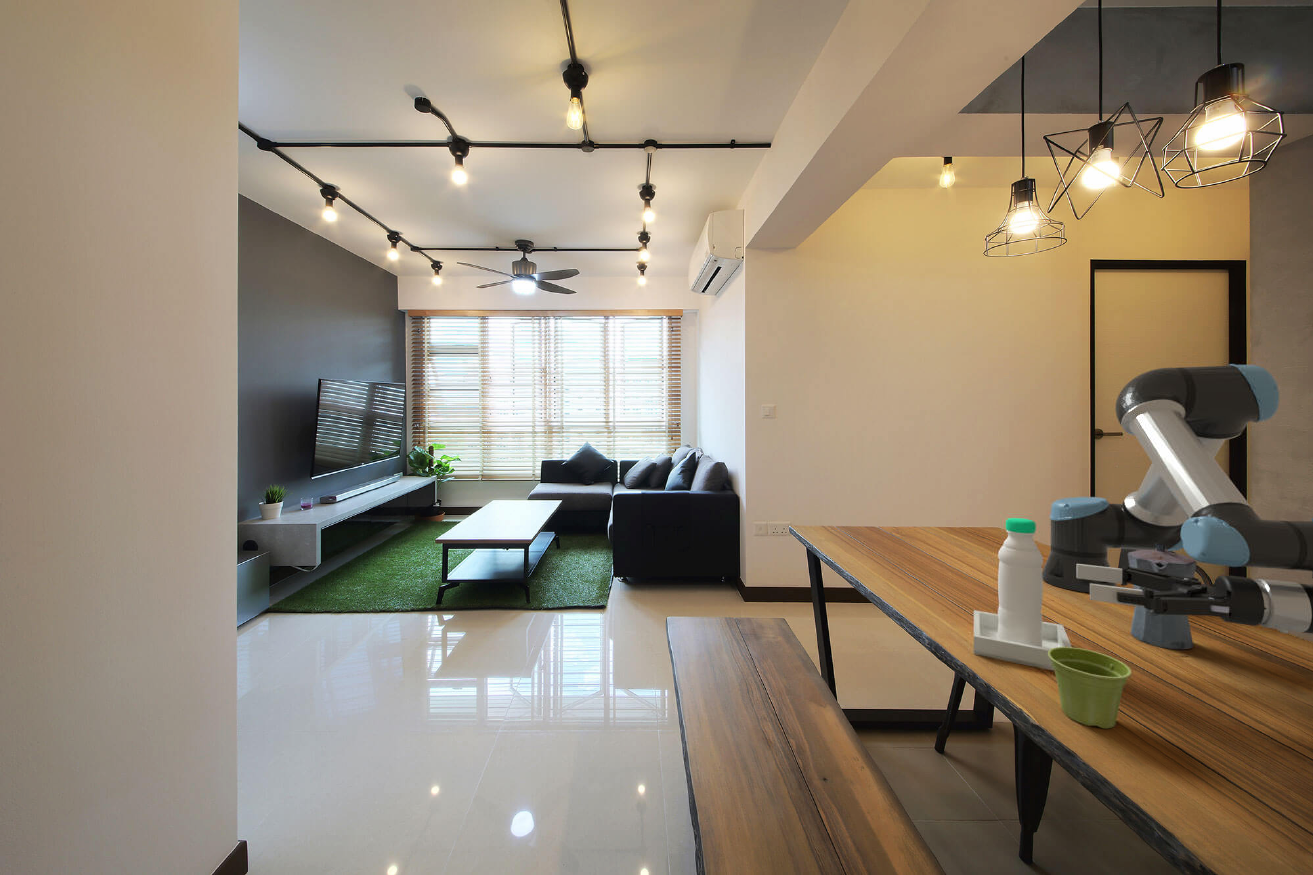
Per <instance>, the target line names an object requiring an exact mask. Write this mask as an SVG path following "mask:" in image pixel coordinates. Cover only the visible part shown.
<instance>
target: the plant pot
mask: <svg viewBox="0 0 1313 875" xmlns="http://www.w3.org/2000/svg"><path fill="white" fill-rule="evenodd" d="M1048 657H1049V658H1050V659H1051V661H1052V665H1053V667H1054V669H1055V671H1054V673H1055V679H1056V683H1057V688H1058V695H1059V700H1060V707H1061V709H1062V711H1063V713H1064V714H1065V715H1066V716H1067V717H1068V718H1070V719H1071V720H1073V721H1075V722H1076V723H1080V724H1081V725H1084V726H1088V727H1091V726H1094V727H1096V726H1097V727H1099V728H1101V729H1112V728H1113V727H1115V726H1116V724H1117V718H1118V714H1119V709H1120V702H1121V699H1122V694H1123V688H1124V686H1125V685H1126V684H1127V682H1128V681H1127V680H1128V679H1129V678H1130V677H1131V676H1132V669H1131V668H1130V667H1129V666H1128V665H1127V664H1126V663H1123V662H1122V661H1121V660H1119V659H1116V658H1115V657H1112V656H1110V655H1108V654H1104V653H1100V652H1098V651H1095V650H1094V651H1093V650H1090V649H1086V648H1080V647H1073V646H1072V647H1056V648H1052V649H1050V650H1049V651H1048Z"/></svg>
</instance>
